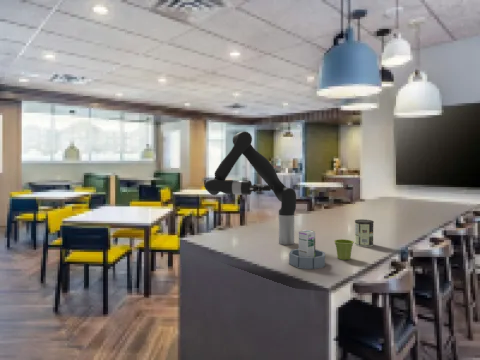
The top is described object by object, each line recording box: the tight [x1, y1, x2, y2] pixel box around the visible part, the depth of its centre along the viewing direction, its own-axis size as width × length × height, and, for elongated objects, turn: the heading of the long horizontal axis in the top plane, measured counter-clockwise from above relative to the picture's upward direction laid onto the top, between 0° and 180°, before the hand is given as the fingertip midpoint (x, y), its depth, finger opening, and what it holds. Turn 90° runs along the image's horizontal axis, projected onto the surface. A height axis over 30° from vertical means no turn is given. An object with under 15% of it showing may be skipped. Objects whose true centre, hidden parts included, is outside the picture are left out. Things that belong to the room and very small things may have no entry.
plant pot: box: [334, 238, 355, 261], centre depth 168 cm, size 9×9×9 cm
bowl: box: [288, 248, 326, 270], centre depth 160 cm, size 16×16×5 cm
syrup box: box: [298, 229, 316, 257], centre depth 160 cm, size 6×6×14 cm
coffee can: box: [354, 219, 375, 248], centre depth 195 cm, size 10×10×14 cm
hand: (272, 188), depth 174 cm, fingers open, 8 cm apart
